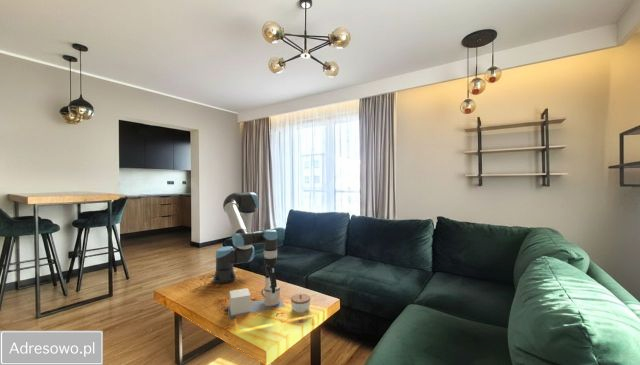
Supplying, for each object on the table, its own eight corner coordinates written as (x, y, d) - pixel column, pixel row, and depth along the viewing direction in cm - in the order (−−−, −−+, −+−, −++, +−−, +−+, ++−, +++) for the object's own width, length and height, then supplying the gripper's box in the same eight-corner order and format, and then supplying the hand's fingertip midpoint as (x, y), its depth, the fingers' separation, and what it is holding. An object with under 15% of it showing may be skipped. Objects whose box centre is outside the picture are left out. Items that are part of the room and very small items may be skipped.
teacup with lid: (282, 300, 155) (283, 281, 155) (274, 307, 147) (275, 286, 147) (265, 297, 159) (265, 278, 159) (256, 303, 151) (256, 283, 151)
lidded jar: (287, 311, 146) (287, 294, 146) (301, 304, 153) (301, 288, 153) (299, 318, 138) (299, 300, 138) (314, 311, 146) (314, 294, 145)
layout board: (227, 308, 149) (227, 305, 149) (279, 298, 161) (279, 296, 161) (229, 319, 137) (229, 316, 137) (285, 308, 149) (285, 305, 149)
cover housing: (229, 306, 148) (229, 290, 148) (247, 303, 152) (247, 288, 152) (231, 315, 139) (231, 298, 139) (250, 311, 143) (250, 295, 143)
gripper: (259, 251, 162) (259, 286, 162) (268, 264, 139) (268, 304, 139) (271, 250, 165) (271, 284, 165) (282, 262, 142) (282, 301, 142)
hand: (270, 293), depth 152 cm, fingers open, 13 cm apart
